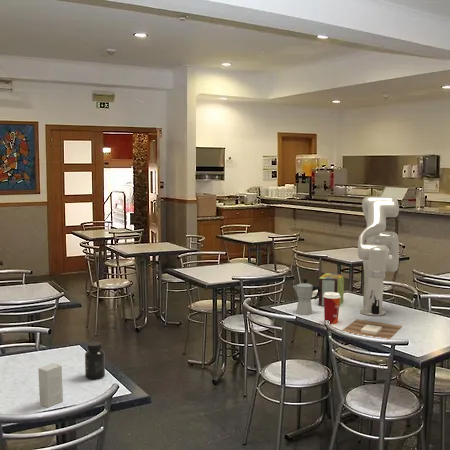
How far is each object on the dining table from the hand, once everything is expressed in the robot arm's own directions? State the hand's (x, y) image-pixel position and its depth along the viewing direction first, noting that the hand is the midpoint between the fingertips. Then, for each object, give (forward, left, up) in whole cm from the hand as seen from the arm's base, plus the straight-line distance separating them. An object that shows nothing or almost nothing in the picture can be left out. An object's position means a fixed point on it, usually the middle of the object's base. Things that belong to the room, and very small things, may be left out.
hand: (375, 313), depth 257 cm
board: (+1, -1, -8) cm, 8 cm away
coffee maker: (-13, -39, -9) cm, 42 cm away
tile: (0, 0, -6) cm, 6 cm away
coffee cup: (0, -21, -9) cm, 23 cm away
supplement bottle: (+108, -70, -9) cm, 129 cm away
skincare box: (+132, -66, -9) cm, 147 cm away
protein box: (-38, -35, -9) cm, 53 cm away
